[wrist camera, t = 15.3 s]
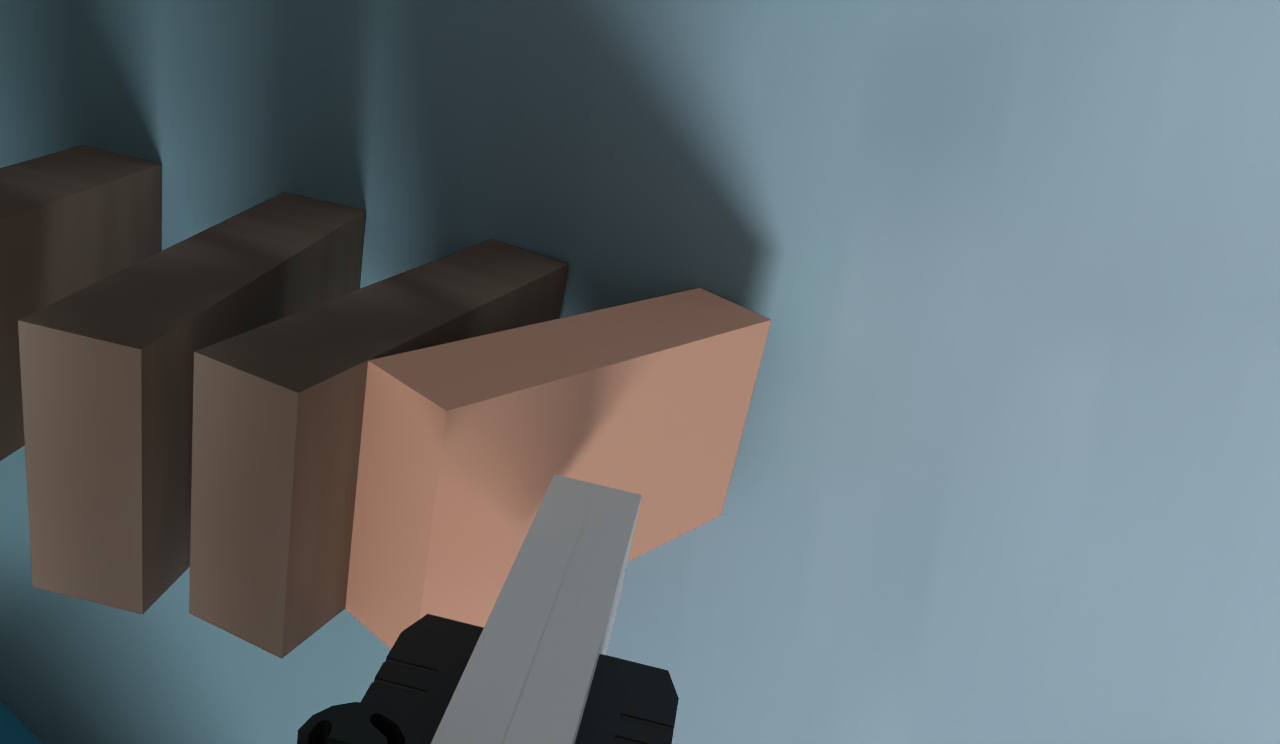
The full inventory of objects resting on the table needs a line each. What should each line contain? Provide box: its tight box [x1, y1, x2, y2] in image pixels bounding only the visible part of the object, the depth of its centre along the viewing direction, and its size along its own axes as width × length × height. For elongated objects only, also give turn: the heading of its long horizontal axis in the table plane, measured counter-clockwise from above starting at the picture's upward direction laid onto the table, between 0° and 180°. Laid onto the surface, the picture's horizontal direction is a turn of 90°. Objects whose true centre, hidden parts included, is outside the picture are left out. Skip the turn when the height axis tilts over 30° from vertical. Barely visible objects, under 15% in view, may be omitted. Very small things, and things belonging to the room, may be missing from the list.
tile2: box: [189, 239, 568, 658], centre depth 21 cm, size 2×5×9 cm, turn 170°
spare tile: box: [345, 288, 771, 649], centre depth 21 cm, size 2×5×9 cm
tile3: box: [18, 192, 366, 614], centre depth 21 cm, size 2×5×9 cm, turn 169°
